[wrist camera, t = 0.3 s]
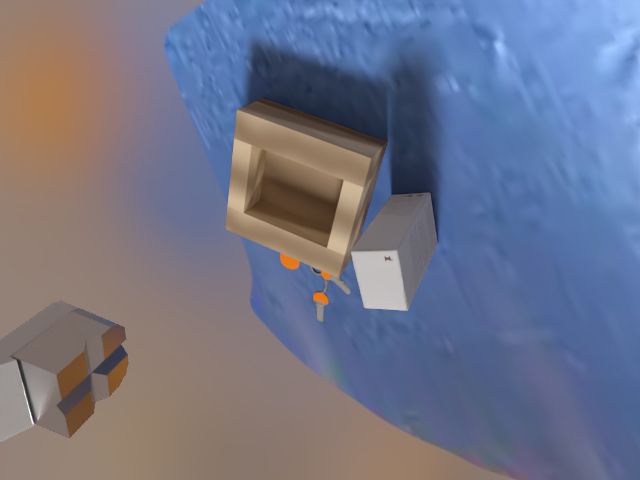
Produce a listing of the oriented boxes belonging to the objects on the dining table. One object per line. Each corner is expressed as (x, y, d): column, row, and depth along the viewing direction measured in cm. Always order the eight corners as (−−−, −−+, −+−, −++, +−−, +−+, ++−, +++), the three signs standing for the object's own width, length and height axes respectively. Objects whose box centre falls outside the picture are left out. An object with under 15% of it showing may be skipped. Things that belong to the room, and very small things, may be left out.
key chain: (267, 238, 60) (263, 241, 59) (312, 219, 56) (309, 223, 55) (317, 321, 63) (314, 325, 62) (364, 309, 59) (361, 313, 58)
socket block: (262, 97, 50) (237, 109, 47) (387, 141, 47) (371, 158, 43) (248, 210, 58) (225, 228, 54) (354, 254, 55) (338, 277, 51)
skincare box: (389, 193, 50) (348, 249, 40) (431, 191, 48) (398, 248, 38) (399, 246, 52) (362, 309, 43) (439, 245, 50) (409, 312, 41)
